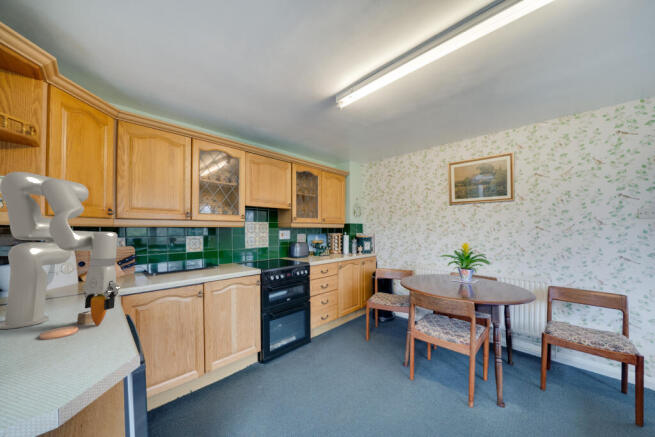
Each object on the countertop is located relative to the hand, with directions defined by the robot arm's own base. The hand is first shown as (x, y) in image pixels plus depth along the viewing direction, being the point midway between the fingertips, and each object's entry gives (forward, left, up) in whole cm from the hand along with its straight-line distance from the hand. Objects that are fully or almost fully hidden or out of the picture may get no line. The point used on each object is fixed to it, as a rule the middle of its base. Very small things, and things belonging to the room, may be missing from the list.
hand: (99, 308), depth 93 cm
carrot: (0, 0, -7) cm, 7 cm away
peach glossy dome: (-3, -10, -7) cm, 12 cm away
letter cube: (-8, +1, -7) cm, 11 cm away
